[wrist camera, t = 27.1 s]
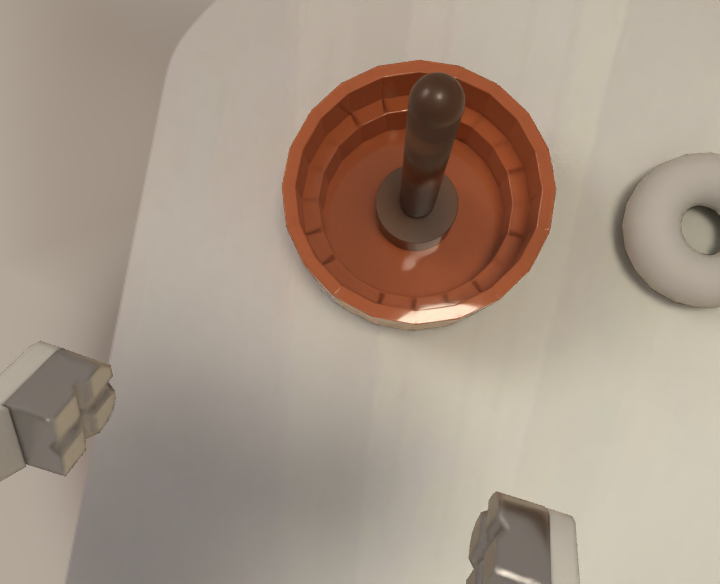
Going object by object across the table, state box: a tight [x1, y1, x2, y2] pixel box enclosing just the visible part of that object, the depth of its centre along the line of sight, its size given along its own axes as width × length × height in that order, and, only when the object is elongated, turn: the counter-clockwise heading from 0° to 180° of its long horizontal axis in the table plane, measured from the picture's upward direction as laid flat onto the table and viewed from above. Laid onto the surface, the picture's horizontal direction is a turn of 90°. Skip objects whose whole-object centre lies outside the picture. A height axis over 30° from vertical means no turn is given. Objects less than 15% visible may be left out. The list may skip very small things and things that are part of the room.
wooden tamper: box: [376, 72, 465, 251], centre depth 29 cm, size 5×5×17 cm
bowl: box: [282, 60, 556, 331], centre depth 36 cm, size 16×16×6 cm
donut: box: [622, 153, 720, 308], centre depth 36 cm, size 10×4×10 cm
